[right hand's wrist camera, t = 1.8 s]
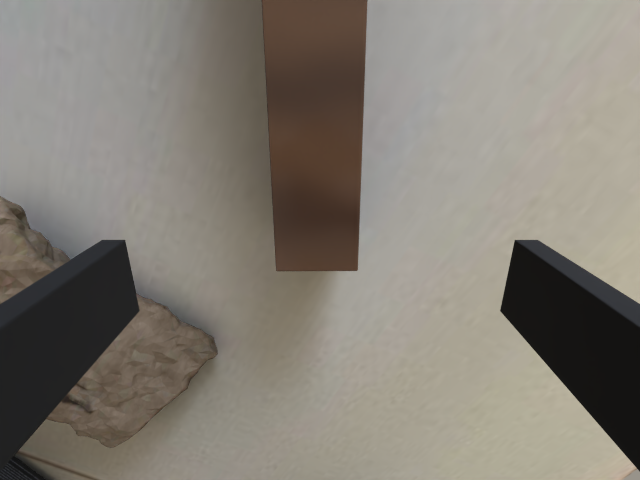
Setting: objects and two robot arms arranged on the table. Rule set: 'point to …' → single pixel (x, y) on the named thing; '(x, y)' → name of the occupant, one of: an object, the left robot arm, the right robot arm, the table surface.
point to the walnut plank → (315, 129)
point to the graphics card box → (18, 471)
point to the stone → (120, 357)
